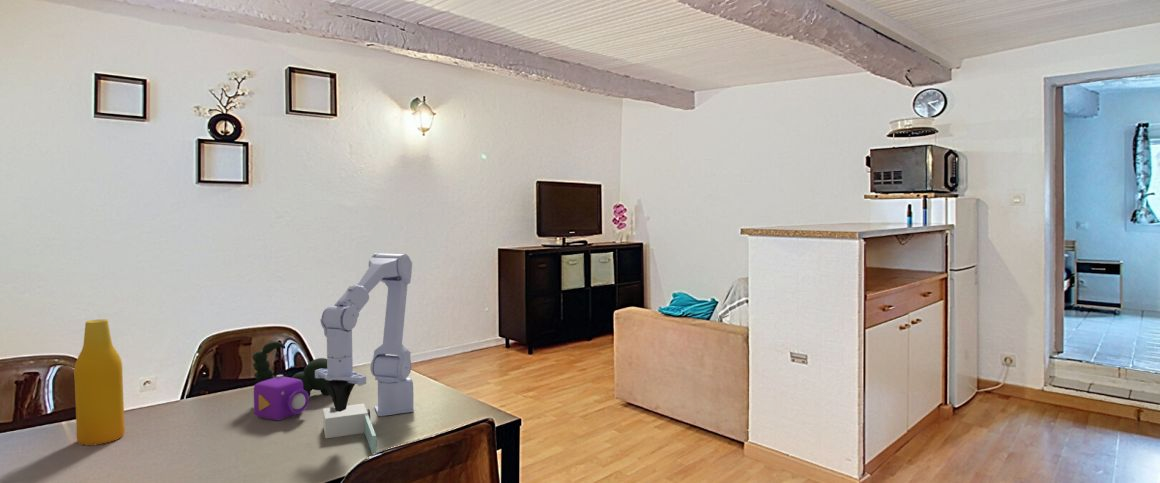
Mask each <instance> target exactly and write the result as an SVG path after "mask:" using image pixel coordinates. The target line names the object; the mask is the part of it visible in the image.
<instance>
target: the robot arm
mask: <svg viewBox="0 0 1160 483" xmlns="http://www.w3.org/2000/svg"><path fill="white" fill-rule="evenodd" d="M412 270H413V261H412V260H411V258H410V256H409V255H408V254H407V253H402V254H401V253H380V252H375V253H373V254H372V256H371V257H370V258H369V259H368V268H367V270H366V271H365V273H364V275H363V276H362V277H361V279H360V281H359V282H358V283H357V284H353V285H349V286H348V288H347V290H345V291H344V293H343V294H342V295H341V297H339V299H338V300H337V301H336V303H335V304H334V305H329V306H328V307H327V308H325V309H324V310H323V312H322V315H321V318H320V325H321V327H322V329H323V333H324V334H323V335H324V337H326V359H327V369H322V368H321V369H318V370H315V378H325V380H329V382H328V383H326V384H325V387H326V389H327V390H328V391H329V393H330V394H329V395H330V397H331V399H332V402H333V406H335V410H336V411H338V412H341V411H343V410H346V407H347V405H348V402H349V398H350V396H351V393H352V392H353V389H354V387H355V385H357V386H359V387H360V386H363V385H366V384H367V375H364V374H361V373H358V372H356V371H355V370H354V369H353V368H354V366H353V364H354V363H353V329H354V328H355V327H356V325H357V322H358V318H359V316H360V312H361V310H362V309H363V308H364V307H365V306H366V304H367V303H368V302H369V301H370V295H369V293H370V292H371V291H372V290H374V289H375V287H376V286H377V285H378V284H379V283H380V282H381V283H384V284H385V286H387V287H386V288H387V296H386V307H385V318H384V326H383V327H384V328H383V340H382V344H381V345H379V346H378V347H377V348H376V349H374V352H373V356H372V360H371V361H370V373H371V375H372V376H373V377H374V380H375V381H377V405H375V406H374V409H375V412H376V413H377V415H378V417H385V416H391V415H393V416H394V415H399V414H400V415H401V414H407V413H412V412H415V410H414V404H415V403H414V381H413V378H412V377H410V374H411V371H412V361H411V360H412V358H411V354H412V353H411V351H410V350H409V349H408V348H407V347H406V346H404V344H403V338H404V326H405V317H406V316H405V315H406V314H405V313H406V308H407V307H406V304H407V294H408V285H409V284H411V280H412V273H413V272H412Z"/></svg>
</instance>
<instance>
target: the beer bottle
mask: <svg viewBox="0 0 1160 483" xmlns="http://www.w3.org/2000/svg"><path fill="white" fill-rule="evenodd" d="M84 325H85V326H84V333H83V334H84V336H83V344H82V349H81V351H80V353H79V354H78V357H77V359H76V361H75V365H74V369H73V372H74V374H73V376H74V395H75V397H74V399H75V418H76V419H75V420H76V421H75V422H76V424H75V425H76V442H77V443H78V444H79V443H80V444H79V445H81V444H85V445H92V446H96V445H95V444H100V445H103V444H102V443H105V444H108V443H107V442H109V443H112V442H111V441H113V442H115V441H117V439H118V440H120V439H121V438H122V437H123V436H124V434H125V430H126V428H125V426H126V425H125V408H124V406H125V405H124V384H123V383H124V382H123V380H124V379H123V363H122V362H123V361H122V358H121V356H120V354H119V353H118V351H117V350H116V348H115V347H114V345H113V343H112V337H111V331H110V325H109V320H108V319H104V318H101V319H91V320H87V321H85V324H84ZM119 438H120V439H119ZM114 440H115V441H114ZM85 445H84V446H85Z"/></svg>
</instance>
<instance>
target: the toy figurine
mask: <svg viewBox="0 0 1160 483" xmlns="http://www.w3.org/2000/svg"><path fill="white" fill-rule="evenodd" d="M277 348H281V349H283V350H284V349H286V346H285V344H284V343H282V342H279V341H270V342H267V343H265V345H264V346H263V348H262V350H259V351H257V352H255V353H254V354H252V360H253V361H254V362H253V365H252V366H253V369H254V370H255V371H256V372H255V373H254V378H255V380H256V381H259V382H262V381H265V380H269V379H272V378H275V377H276V376H275V375H274V372H273V370H272V369H271V368H270V365H271V363H270V361H269V360H268V355H267V354H270V353H272V351H274V350H275V349H277ZM321 368H322V369H327V358H324V357H320V358H315V359H313V360H311V361H310V362H308V364H306V366H305V367H304V369H303V371H299V372H297V373H295V374H293V375H292V376H291V378H295V379H300V380H302V382H303V390H305V391H306V392H307V393H308V395H309V398H310V396H311V392H312V391H319V392H320V393H321V394H322V395H324V396H327V395H330V393H329V391H328V390H327V389H326V387H325V384H326V383H328V382H329V380H325V378H315V370H318V369H321Z"/></svg>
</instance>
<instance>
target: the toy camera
mask: <svg viewBox="0 0 1160 483" xmlns="http://www.w3.org/2000/svg"><path fill="white" fill-rule="evenodd" d="M309 400H310V397H309V395H308V393H307V392H306V391H305V390H303V382H302V380H300V379H295V378H292V377H288V376H284V374H277V375H276V376H275V378H272V379H269V380H265V381H262V382H260V381H259V382H257V383H255V384H254V385H253V412H254V415H255V416H256V417H258V418H263V419H266V420H272V421H280V420H284V419H287V418H290V417H292V416H294V415H297V414H298V415H299V414H301V413H303V412H304V411H305V409H306V408H307V407H308V404H309Z"/></svg>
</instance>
